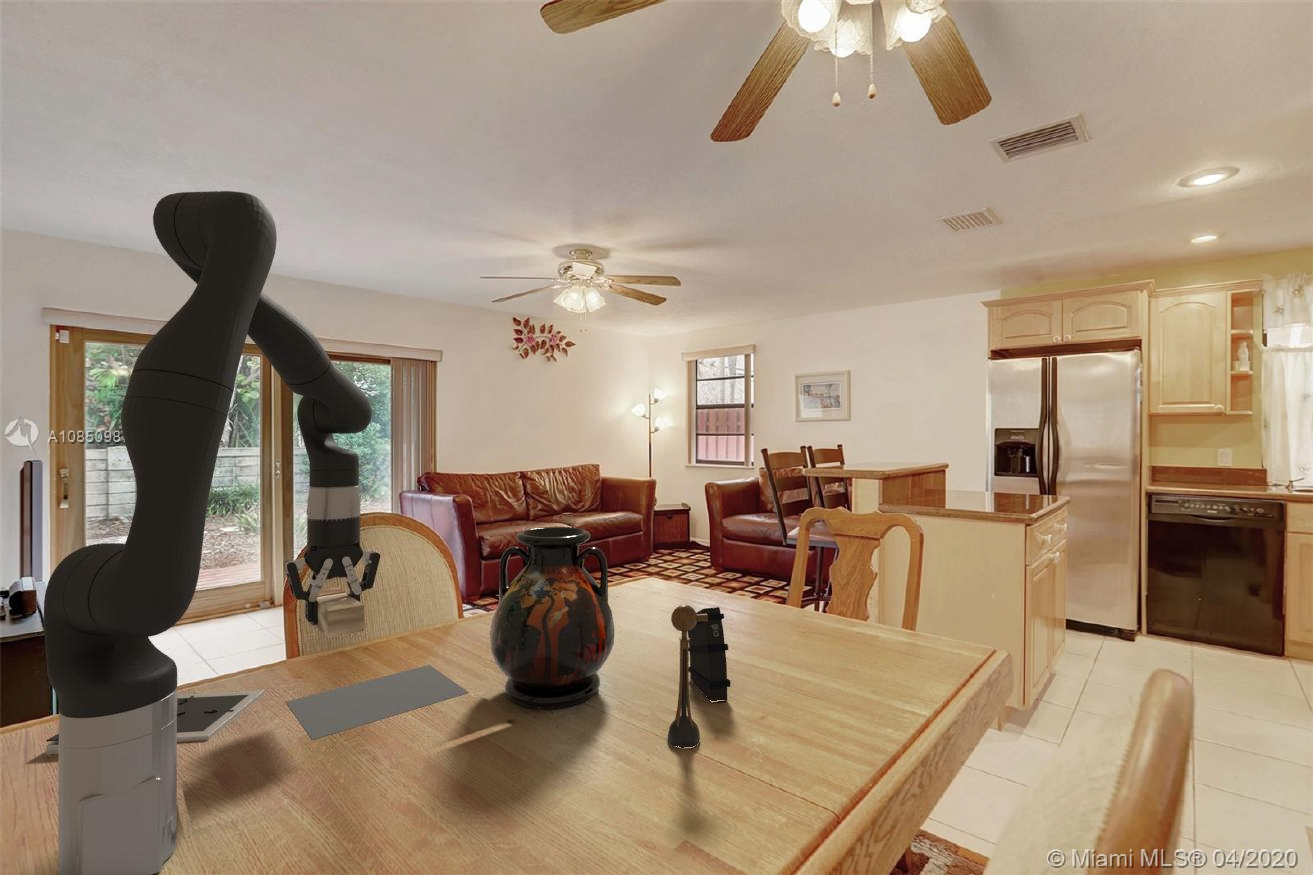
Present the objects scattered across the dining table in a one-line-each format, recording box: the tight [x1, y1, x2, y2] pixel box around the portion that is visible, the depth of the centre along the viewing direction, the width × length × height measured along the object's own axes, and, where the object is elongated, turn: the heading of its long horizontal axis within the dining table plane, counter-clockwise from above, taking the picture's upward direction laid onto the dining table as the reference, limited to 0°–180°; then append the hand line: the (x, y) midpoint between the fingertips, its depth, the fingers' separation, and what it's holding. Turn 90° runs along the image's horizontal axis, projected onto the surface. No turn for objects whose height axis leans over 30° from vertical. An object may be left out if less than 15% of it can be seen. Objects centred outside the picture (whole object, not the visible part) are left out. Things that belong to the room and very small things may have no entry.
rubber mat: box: [285, 664, 470, 741], centre depth 101 cm, size 17×24×1 cm
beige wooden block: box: [304, 586, 365, 639], centre depth 97 cm, size 14×5×4 cm, turn 43°
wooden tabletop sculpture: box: [667, 604, 708, 748], centre depth 89 cm, size 6×5×20 cm
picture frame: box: [45, 689, 265, 756], centre depth 93 cm, size 16×3×21 cm
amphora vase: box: [489, 526, 615, 710], centre depth 106 cm, size 22×22×28 cm
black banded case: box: [687, 606, 731, 701], centre depth 107 cm, size 4×13×15 cm, turn 17°
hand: (333, 620), depth 97 cm, fingers closed on beige wooden block, 5 cm apart
